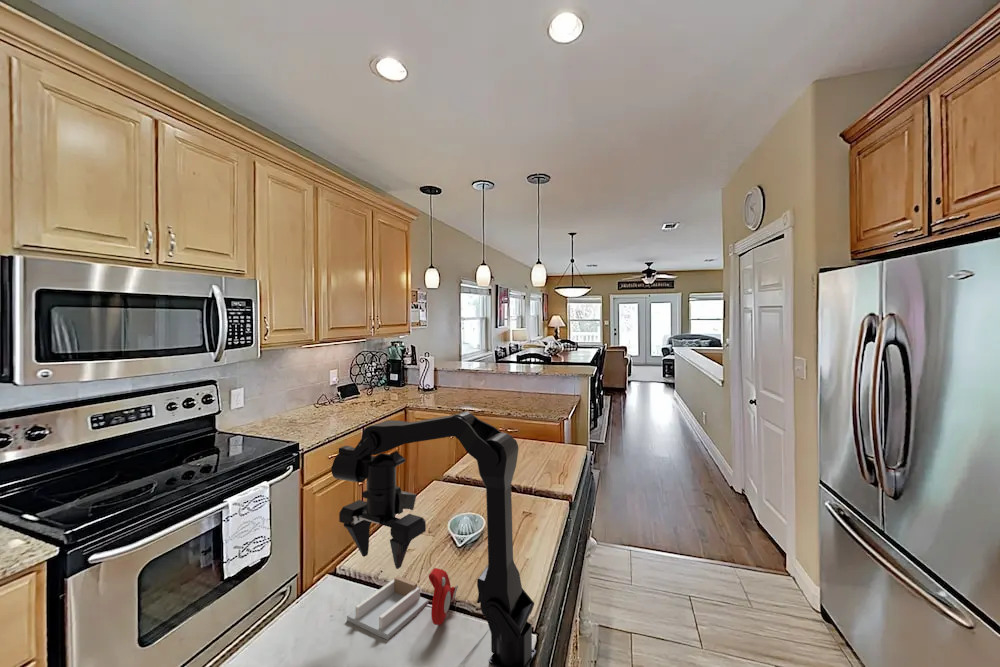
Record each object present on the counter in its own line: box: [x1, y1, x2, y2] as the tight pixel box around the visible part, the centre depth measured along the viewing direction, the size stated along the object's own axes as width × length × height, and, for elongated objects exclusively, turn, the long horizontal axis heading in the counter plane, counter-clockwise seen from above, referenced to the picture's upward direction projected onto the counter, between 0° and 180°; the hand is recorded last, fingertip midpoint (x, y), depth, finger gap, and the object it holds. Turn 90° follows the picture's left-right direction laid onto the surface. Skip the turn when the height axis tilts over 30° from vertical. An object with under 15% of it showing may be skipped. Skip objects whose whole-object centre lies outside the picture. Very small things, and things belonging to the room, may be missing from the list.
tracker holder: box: [428, 567, 459, 626], centre depth 87 cm, size 12×4×10 cm, turn 166°
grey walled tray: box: [346, 575, 429, 641], centre depth 88 cm, size 11×12×4 cm
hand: (381, 561), depth 87 cm, fingers open, 9 cm apart
